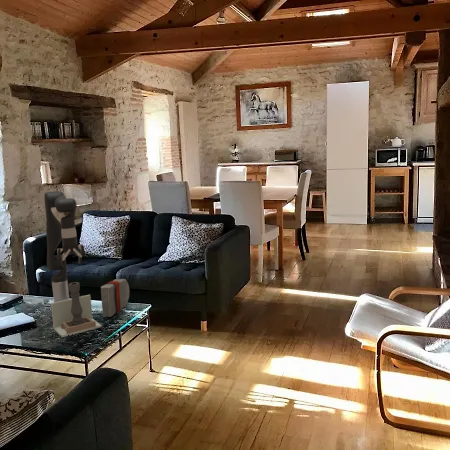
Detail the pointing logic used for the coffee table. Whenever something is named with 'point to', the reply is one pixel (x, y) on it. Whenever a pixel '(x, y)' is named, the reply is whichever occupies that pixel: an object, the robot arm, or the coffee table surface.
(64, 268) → the robot arm
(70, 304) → the board
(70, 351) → the coffee table surface
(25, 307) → the coffee table surface
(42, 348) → the coffee table surface
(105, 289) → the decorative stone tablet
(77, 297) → the candle holder
